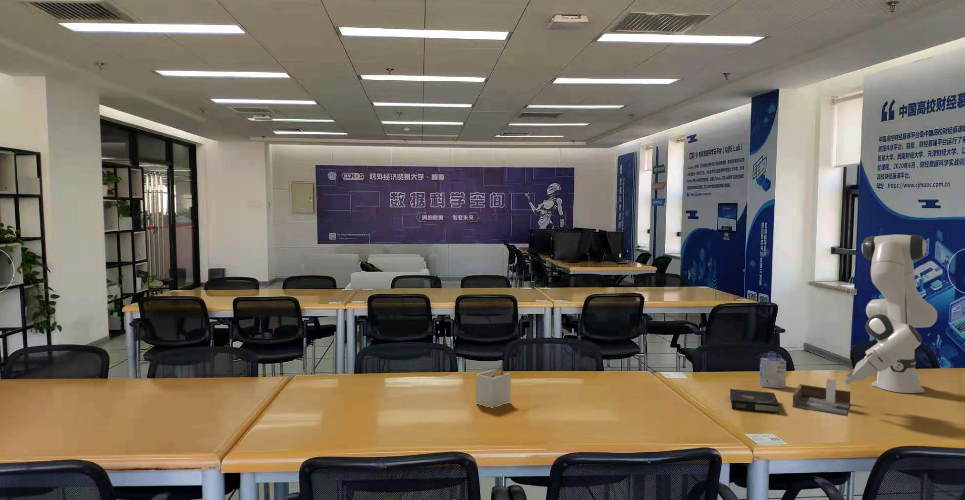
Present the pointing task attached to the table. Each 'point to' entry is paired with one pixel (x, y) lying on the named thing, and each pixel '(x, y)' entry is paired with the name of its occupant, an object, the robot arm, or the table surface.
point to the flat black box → (754, 401)
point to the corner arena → (808, 391)
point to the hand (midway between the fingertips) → (847, 379)
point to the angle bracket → (830, 395)
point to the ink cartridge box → (772, 372)
